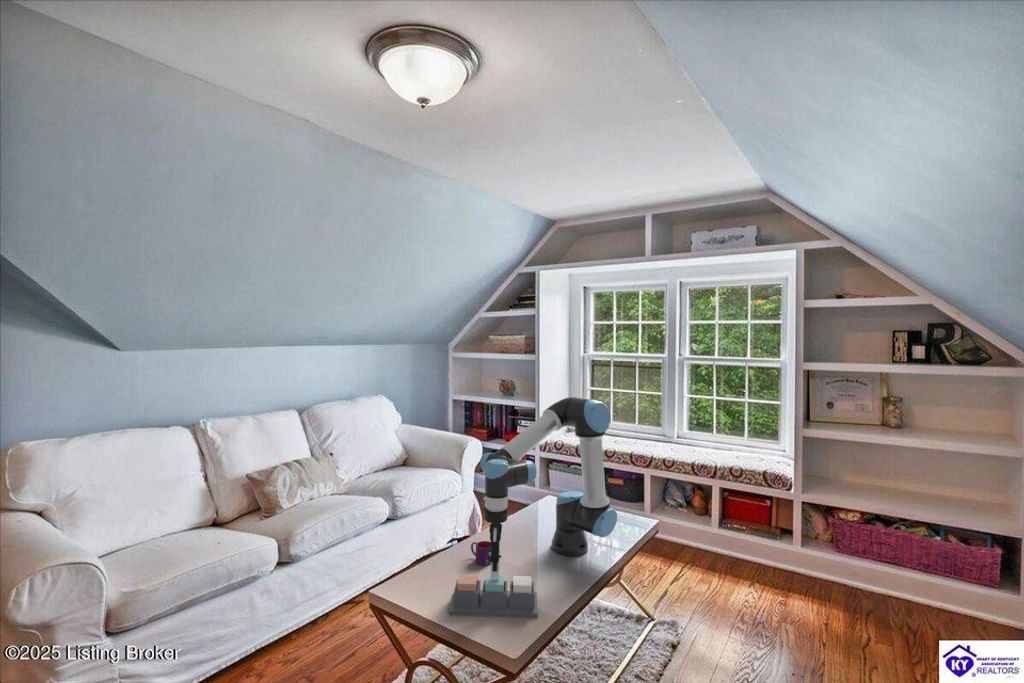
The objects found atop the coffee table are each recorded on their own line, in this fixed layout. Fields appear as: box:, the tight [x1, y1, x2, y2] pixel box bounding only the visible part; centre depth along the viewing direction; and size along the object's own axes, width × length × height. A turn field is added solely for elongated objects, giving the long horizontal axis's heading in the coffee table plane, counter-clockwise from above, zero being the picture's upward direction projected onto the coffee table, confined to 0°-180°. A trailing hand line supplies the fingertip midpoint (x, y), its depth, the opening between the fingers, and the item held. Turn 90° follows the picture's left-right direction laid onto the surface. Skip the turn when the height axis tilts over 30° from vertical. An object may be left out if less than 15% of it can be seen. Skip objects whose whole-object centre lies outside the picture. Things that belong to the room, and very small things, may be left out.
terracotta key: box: [457, 574, 479, 592], centre depth 158 cm, size 6×6×5 cm
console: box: [448, 579, 539, 619], centre depth 158 cm, size 28×13×6 cm, turn 89°
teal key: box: [485, 574, 505, 592], centre depth 158 cm, size 6×6×5 cm
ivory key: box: [512, 575, 533, 593], centre depth 158 cm, size 6×6×5 cm
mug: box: [470, 540, 491, 567], centre depth 189 cm, size 7×10×7 cm
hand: (494, 579), depth 158 cm, fingers closed
